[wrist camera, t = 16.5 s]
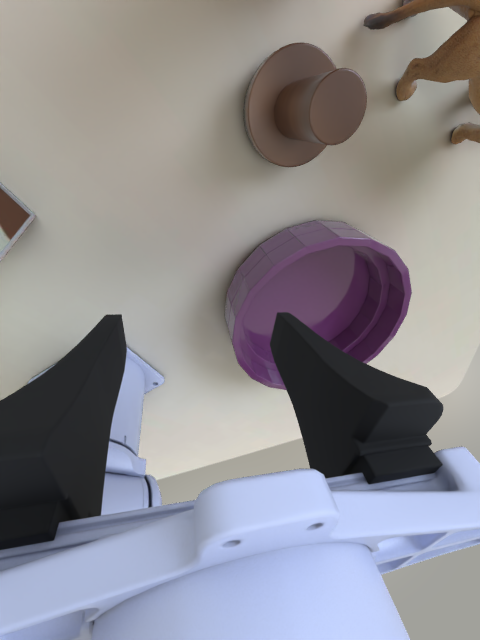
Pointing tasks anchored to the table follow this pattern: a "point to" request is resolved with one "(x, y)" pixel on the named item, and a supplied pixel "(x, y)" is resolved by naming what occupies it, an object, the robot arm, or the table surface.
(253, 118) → the brown stamp
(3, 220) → the food container
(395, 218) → the table surface
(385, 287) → the bowl
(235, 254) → the table surface
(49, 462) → the robot arm
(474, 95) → the lion figurine
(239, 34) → the table surface
